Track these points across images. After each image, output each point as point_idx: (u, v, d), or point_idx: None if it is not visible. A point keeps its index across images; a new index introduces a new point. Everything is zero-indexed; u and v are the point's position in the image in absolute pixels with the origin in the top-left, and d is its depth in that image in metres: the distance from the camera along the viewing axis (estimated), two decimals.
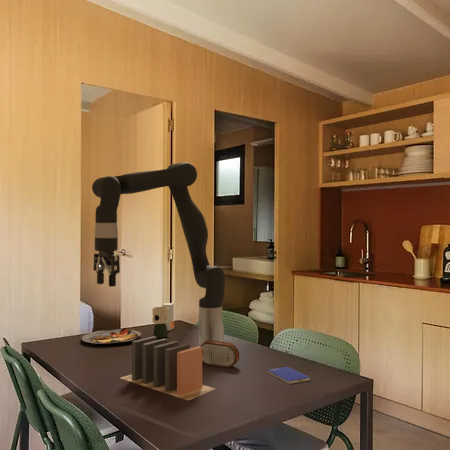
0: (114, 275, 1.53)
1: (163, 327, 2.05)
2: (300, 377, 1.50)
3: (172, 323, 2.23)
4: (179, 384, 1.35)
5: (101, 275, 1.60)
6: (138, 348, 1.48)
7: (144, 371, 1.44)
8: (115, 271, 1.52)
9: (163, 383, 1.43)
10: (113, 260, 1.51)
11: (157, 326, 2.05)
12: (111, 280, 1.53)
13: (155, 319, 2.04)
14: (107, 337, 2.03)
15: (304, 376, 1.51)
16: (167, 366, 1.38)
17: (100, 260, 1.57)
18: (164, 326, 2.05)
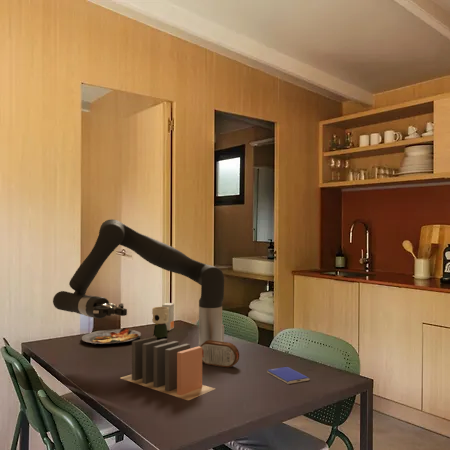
0: None
1: (163, 327, 2.05)
2: (299, 377, 1.50)
3: (172, 323, 2.23)
4: (179, 384, 1.35)
5: None
6: (138, 348, 1.48)
7: (144, 371, 1.44)
8: None
9: (163, 383, 1.43)
10: None
11: (157, 326, 2.05)
12: (123, 309, 1.59)
13: (155, 319, 2.04)
14: (107, 337, 2.03)
15: (303, 376, 1.51)
16: (167, 366, 1.38)
17: None
18: (164, 326, 2.05)
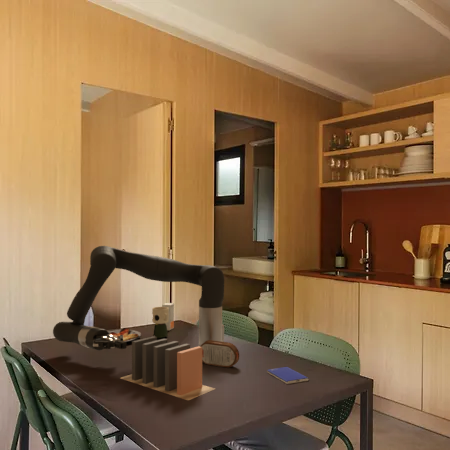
0: None
1: (163, 327, 2.05)
2: (298, 377, 1.50)
3: (172, 323, 2.23)
4: (179, 384, 1.35)
5: None
6: (138, 348, 1.48)
7: (144, 371, 1.44)
8: None
9: (163, 383, 1.43)
10: (122, 336, 1.66)
11: (157, 326, 2.05)
12: (123, 342, 1.59)
13: (155, 319, 2.04)
14: None
15: (302, 376, 1.51)
16: (167, 366, 1.38)
17: None
18: (164, 326, 2.05)
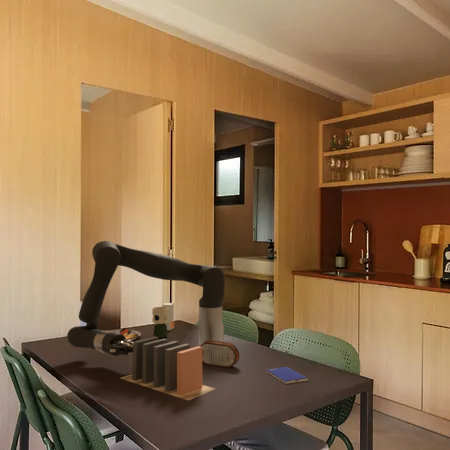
0: None
1: (163, 327, 2.05)
2: (297, 377, 1.50)
3: (172, 323, 2.23)
4: (179, 384, 1.35)
5: None
6: (139, 348, 1.47)
7: (144, 371, 1.44)
8: None
9: (163, 383, 1.43)
10: None
11: (157, 326, 2.04)
12: None
13: (155, 319, 2.04)
14: None
15: (301, 376, 1.51)
16: (167, 366, 1.38)
17: None
18: (164, 326, 2.05)
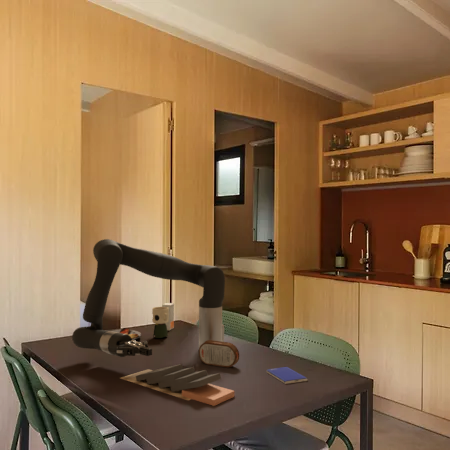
0: None
1: (163, 327, 2.05)
2: (297, 377, 1.50)
3: (172, 323, 2.23)
4: (189, 395, 1.32)
5: None
6: None
7: (154, 380, 1.41)
8: None
9: None
10: None
11: (157, 326, 2.05)
12: None
13: (155, 319, 2.04)
14: None
15: (301, 376, 1.50)
16: (188, 386, 1.32)
17: None
18: (164, 326, 2.05)
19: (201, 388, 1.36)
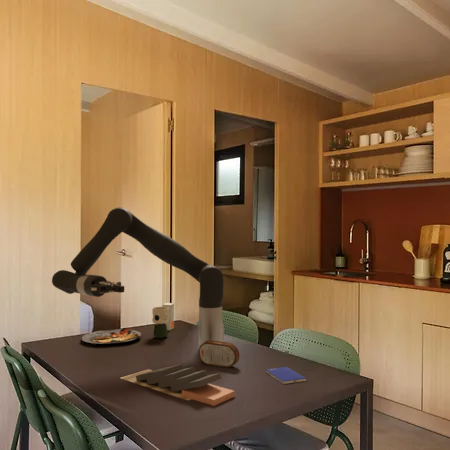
0: None
1: (163, 327, 2.05)
2: (296, 378, 1.49)
3: (172, 323, 2.23)
4: (189, 395, 1.32)
5: None
6: None
7: (154, 380, 1.41)
8: None
9: None
10: (120, 283, 1.68)
11: (157, 326, 2.04)
12: None
13: (155, 319, 2.04)
14: (107, 337, 2.03)
15: (300, 377, 1.50)
16: (188, 386, 1.32)
17: None
18: (164, 326, 2.05)
19: (201, 388, 1.36)
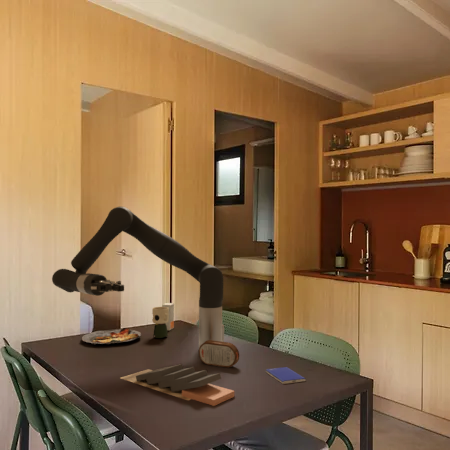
0: None
1: (163, 327, 2.05)
2: (295, 378, 1.49)
3: (172, 323, 2.23)
4: (189, 395, 1.32)
5: None
6: None
7: (154, 380, 1.41)
8: None
9: None
10: (120, 282, 1.68)
11: (157, 326, 2.05)
12: None
13: (155, 319, 2.04)
14: (107, 337, 2.03)
15: (299, 377, 1.50)
16: (188, 386, 1.32)
17: None
18: (164, 326, 2.05)
19: (201, 388, 1.36)
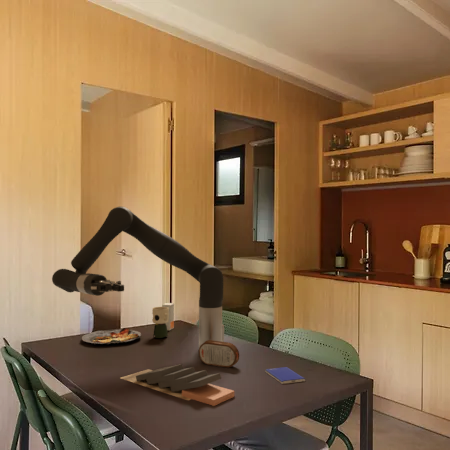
0: None
1: (163, 327, 2.05)
2: (294, 378, 1.49)
3: (172, 323, 2.23)
4: (189, 395, 1.32)
5: None
6: None
7: (154, 380, 1.41)
8: None
9: None
10: (120, 282, 1.68)
11: (157, 326, 2.05)
12: None
13: (155, 319, 2.04)
14: (107, 337, 2.03)
15: (299, 377, 1.50)
16: (188, 386, 1.32)
17: None
18: (164, 326, 2.05)
19: (201, 388, 1.36)
